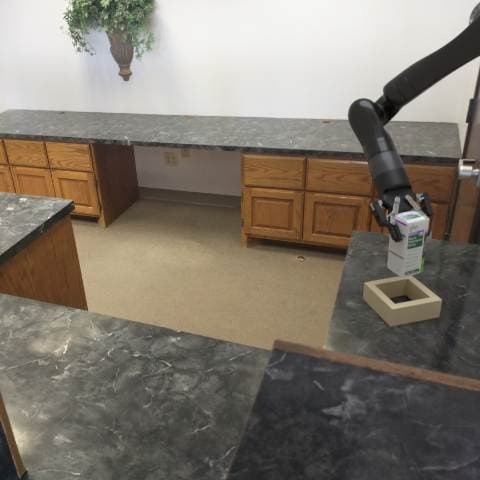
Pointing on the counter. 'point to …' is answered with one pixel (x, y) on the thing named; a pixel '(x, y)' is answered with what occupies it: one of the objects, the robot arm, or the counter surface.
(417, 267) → the syrup box
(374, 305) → the frame
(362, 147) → the robot arm
